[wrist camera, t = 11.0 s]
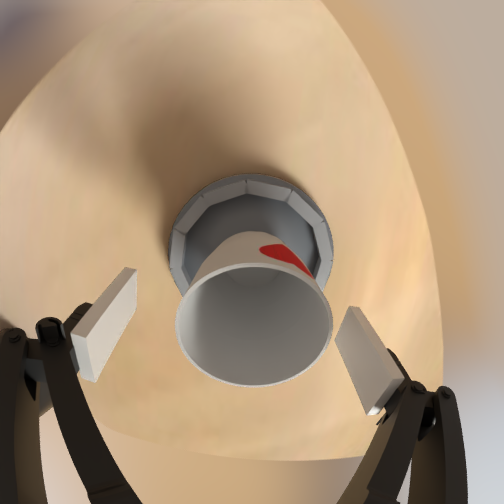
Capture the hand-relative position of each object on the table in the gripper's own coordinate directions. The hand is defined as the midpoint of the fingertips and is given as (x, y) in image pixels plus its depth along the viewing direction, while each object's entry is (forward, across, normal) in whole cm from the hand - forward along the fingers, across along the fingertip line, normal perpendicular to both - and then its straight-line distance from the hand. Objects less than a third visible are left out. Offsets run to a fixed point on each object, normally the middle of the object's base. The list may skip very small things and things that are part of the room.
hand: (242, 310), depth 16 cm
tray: (+9, +1, 0) cm, 9 cm away
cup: (+8, +1, 0) cm, 8 cm away
